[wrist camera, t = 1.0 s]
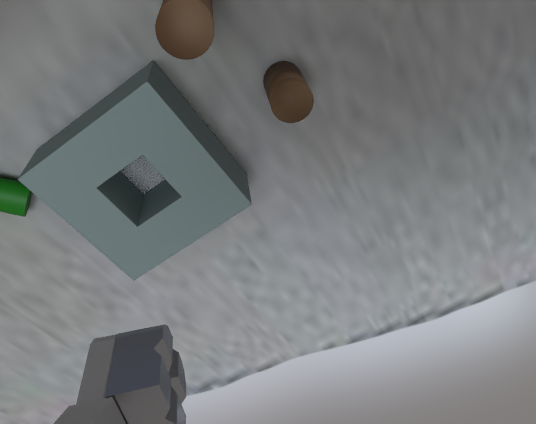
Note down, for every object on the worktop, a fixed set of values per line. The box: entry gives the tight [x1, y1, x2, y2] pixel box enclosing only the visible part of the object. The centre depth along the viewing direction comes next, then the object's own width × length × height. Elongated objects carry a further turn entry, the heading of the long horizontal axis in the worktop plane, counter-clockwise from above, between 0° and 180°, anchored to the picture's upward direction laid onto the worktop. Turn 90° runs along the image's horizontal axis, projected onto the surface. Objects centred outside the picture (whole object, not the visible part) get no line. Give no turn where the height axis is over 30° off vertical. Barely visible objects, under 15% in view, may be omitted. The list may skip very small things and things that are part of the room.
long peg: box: [155, 0, 214, 59], centre depth 31 cm, size 3×3×11 cm
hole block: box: [18, 61, 252, 280], centre depth 40 cm, size 12×12×5 cm
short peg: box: [263, 61, 313, 123], centre depth 37 cm, size 3×3×5 cm
